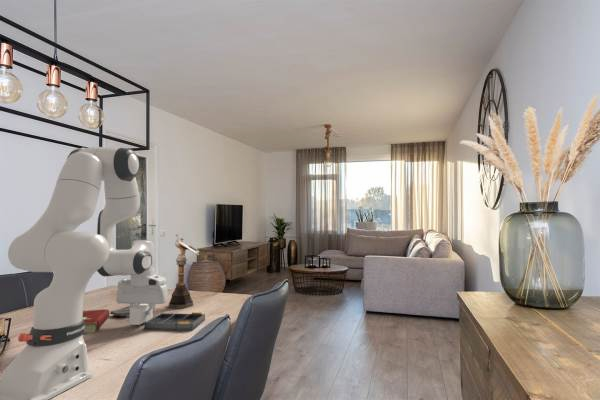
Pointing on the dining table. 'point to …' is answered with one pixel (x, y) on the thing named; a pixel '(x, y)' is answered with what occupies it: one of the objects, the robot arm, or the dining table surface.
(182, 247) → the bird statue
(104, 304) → the dining table surface
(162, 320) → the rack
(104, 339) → the dining table surface
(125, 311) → the graphics card
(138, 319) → the white rectangular block
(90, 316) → the hardcover book
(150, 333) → the dining table surface
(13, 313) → the dining table surface
